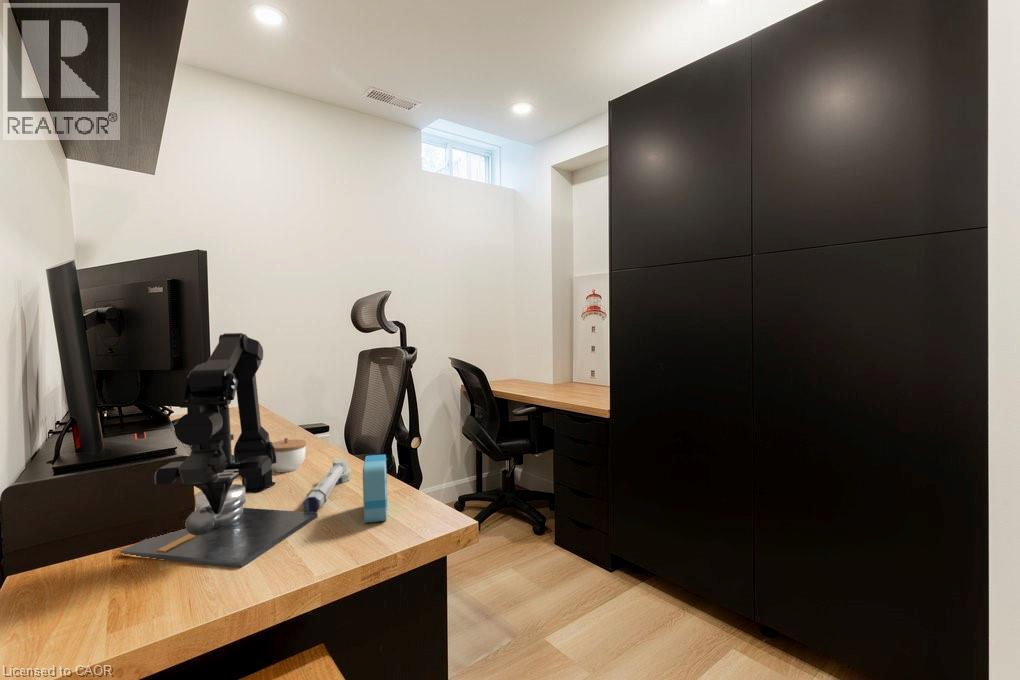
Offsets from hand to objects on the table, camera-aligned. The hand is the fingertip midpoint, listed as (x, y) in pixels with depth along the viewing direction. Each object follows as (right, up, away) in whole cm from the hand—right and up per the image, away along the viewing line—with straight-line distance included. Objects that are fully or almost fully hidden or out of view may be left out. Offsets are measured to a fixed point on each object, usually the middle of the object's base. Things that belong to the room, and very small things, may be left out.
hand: (217, 513), depth 91 cm
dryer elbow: (-4, -3, +5) cm, 7 cm away
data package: (+27, -5, +14) cm, 31 cm away
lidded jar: (-10, -5, +49) cm, 51 cm away
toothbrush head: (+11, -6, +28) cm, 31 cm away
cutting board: (-1, -6, +4) cm, 8 cm away
